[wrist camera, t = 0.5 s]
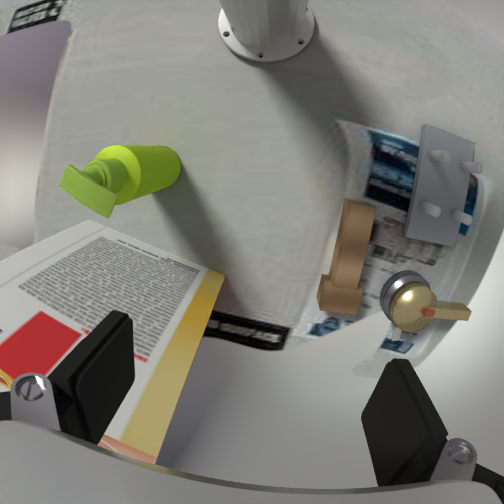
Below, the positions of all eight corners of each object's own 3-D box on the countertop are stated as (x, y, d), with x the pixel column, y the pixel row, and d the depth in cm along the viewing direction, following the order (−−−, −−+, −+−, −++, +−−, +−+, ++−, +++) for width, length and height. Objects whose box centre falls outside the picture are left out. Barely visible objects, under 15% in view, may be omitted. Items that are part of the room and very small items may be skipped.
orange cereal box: (81, 264, 45) (-52, 366, 16) (88, 219, 42) (-70, 302, 14) (208, 320, 46) (144, 495, 18) (225, 275, 43) (157, 457, 15)
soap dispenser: (173, 200, 41) (96, 241, 22) (134, 175, 40) (39, 198, 21) (195, 163, 39) (126, 174, 20) (153, 138, 38) (63, 134, 19)
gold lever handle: (382, 321, 41) (388, 332, 38) (396, 277, 39) (404, 286, 36) (453, 326, 41) (462, 336, 38) (468, 287, 39) (478, 296, 36)
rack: (422, 124, 35) (440, 122, 30) (470, 142, 34) (490, 143, 30) (402, 235, 40) (417, 245, 35) (450, 244, 40) (468, 255, 35)
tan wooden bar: (337, 196, 39) (344, 201, 35) (373, 203, 39) (383, 208, 35) (316, 297, 44) (320, 310, 40) (350, 301, 43) (356, 314, 40)
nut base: (388, 267, 41) (392, 272, 39) (432, 273, 41) (437, 278, 39) (365, 338, 45) (368, 345, 43) (407, 341, 45) (411, 347, 43)
